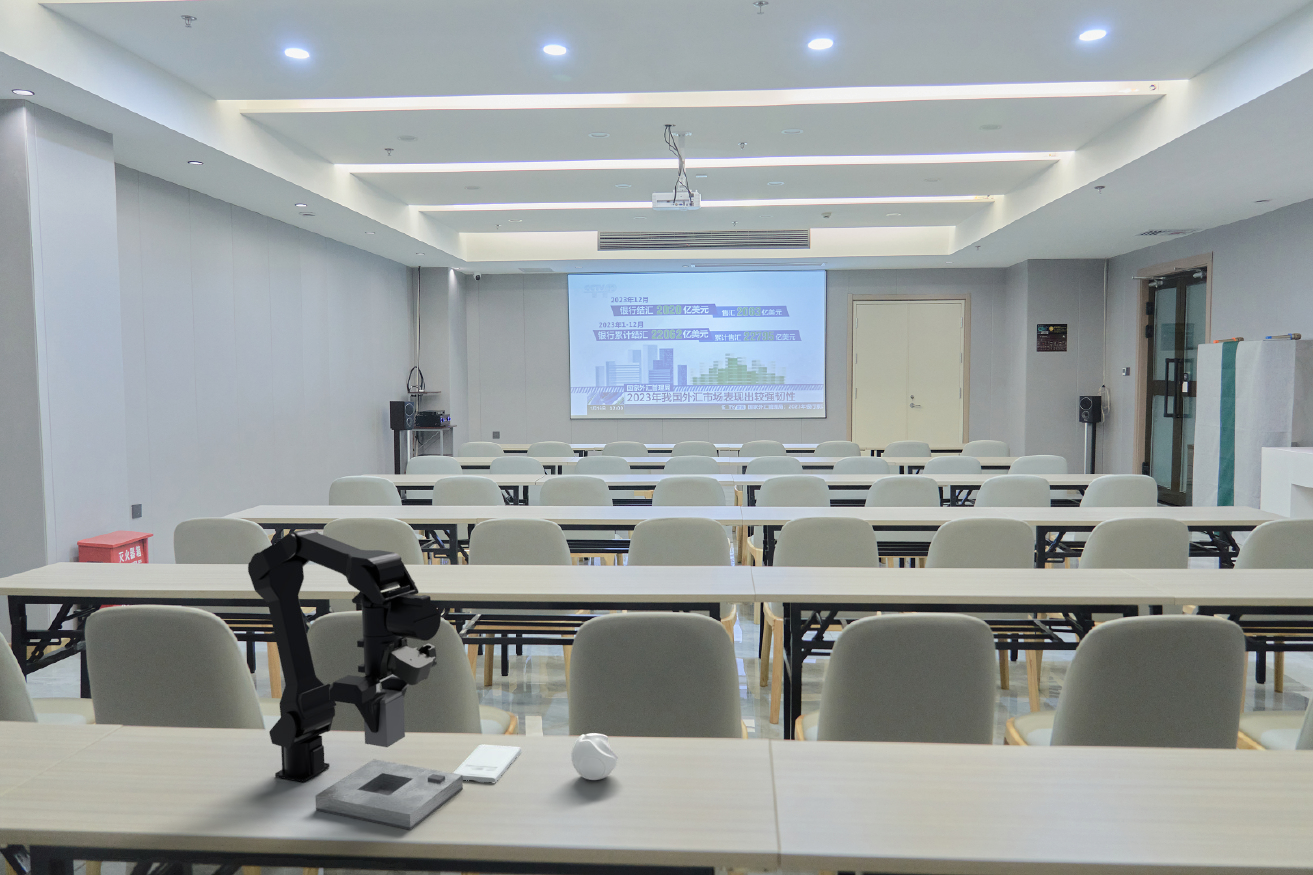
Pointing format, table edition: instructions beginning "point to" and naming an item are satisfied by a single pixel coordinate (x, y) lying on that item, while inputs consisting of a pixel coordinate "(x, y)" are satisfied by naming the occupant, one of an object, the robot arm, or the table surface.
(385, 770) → the socket
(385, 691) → the plug
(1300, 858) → the table surface
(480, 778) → the external hard drive
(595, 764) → the motion sensor
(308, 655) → the robot arm
